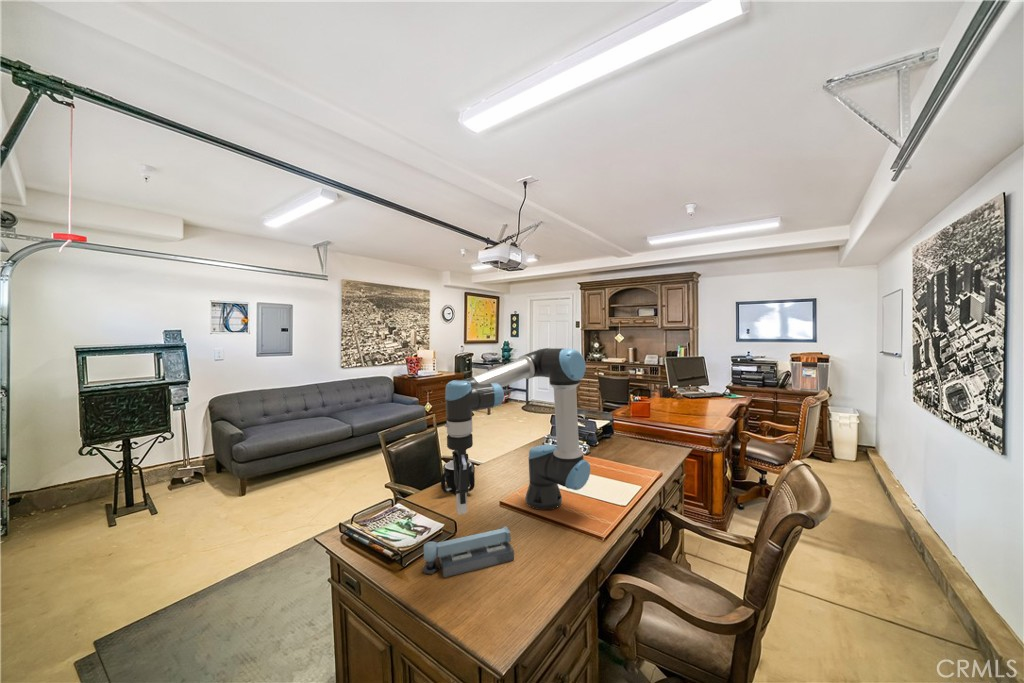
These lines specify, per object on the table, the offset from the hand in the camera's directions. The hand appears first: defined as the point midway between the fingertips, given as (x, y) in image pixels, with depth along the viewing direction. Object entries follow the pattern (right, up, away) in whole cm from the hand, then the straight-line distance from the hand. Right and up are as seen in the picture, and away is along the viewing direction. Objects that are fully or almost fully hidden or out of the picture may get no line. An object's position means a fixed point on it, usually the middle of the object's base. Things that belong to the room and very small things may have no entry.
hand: (462, 512), depth 108 cm
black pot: (-9, -17, +58) cm, 61 cm away
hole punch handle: (+1, -15, +6) cm, 16 cm away
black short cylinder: (-10, -19, +3) cm, 21 cm away
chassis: (+3, -18, +7) cm, 20 cm away
